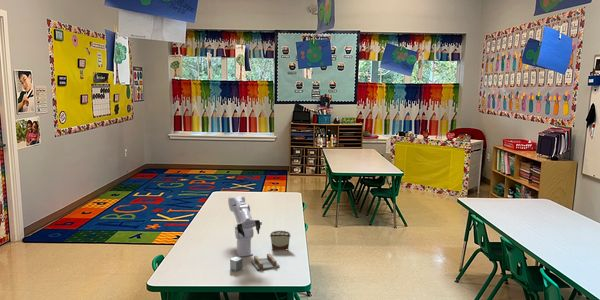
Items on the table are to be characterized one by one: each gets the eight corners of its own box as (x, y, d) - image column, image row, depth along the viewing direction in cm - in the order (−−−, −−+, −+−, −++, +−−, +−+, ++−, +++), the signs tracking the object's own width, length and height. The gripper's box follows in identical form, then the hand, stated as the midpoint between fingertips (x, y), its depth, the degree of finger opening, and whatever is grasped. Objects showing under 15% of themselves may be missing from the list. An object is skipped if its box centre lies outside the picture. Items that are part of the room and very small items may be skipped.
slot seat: (251, 262, 242) (251, 256, 242) (271, 258, 247) (271, 252, 246) (258, 270, 231) (257, 264, 231) (279, 267, 236) (279, 261, 236)
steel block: (230, 269, 233) (230, 259, 232) (236, 267, 236) (236, 256, 235) (236, 272, 230) (236, 261, 229) (242, 269, 233) (242, 258, 232)
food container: (290, 246, 266) (290, 230, 264) (290, 250, 260) (290, 233, 258) (270, 246, 266) (270, 230, 264) (269, 250, 260) (269, 233, 258)
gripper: (232, 215, 240) (236, 230, 228) (259, 210, 243) (264, 224, 231) (234, 226, 243) (238, 241, 231) (259, 221, 246) (265, 235, 235)
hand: (251, 233), depth 231 cm, fingers open, 7 cm apart
